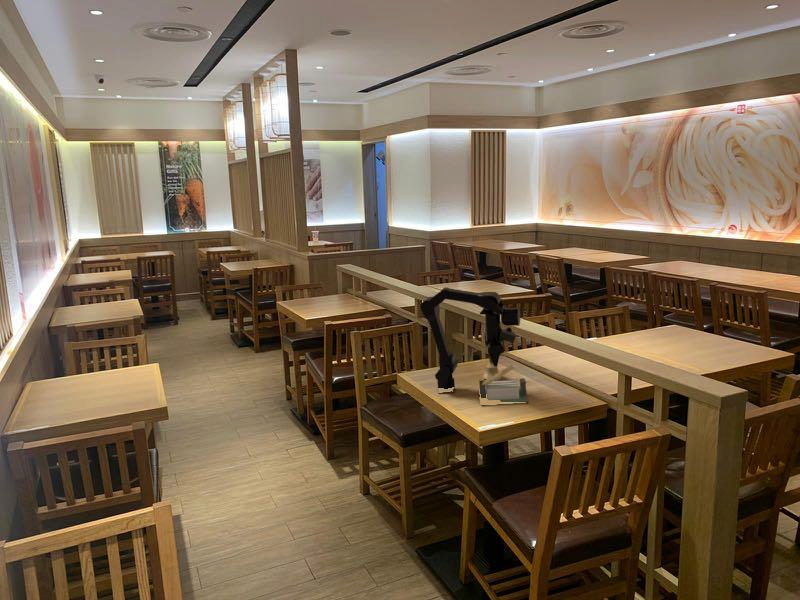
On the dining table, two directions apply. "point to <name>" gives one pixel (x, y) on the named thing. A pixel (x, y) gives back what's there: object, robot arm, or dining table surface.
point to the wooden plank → (498, 375)
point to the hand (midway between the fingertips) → (494, 362)
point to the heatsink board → (504, 391)
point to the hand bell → (491, 370)
